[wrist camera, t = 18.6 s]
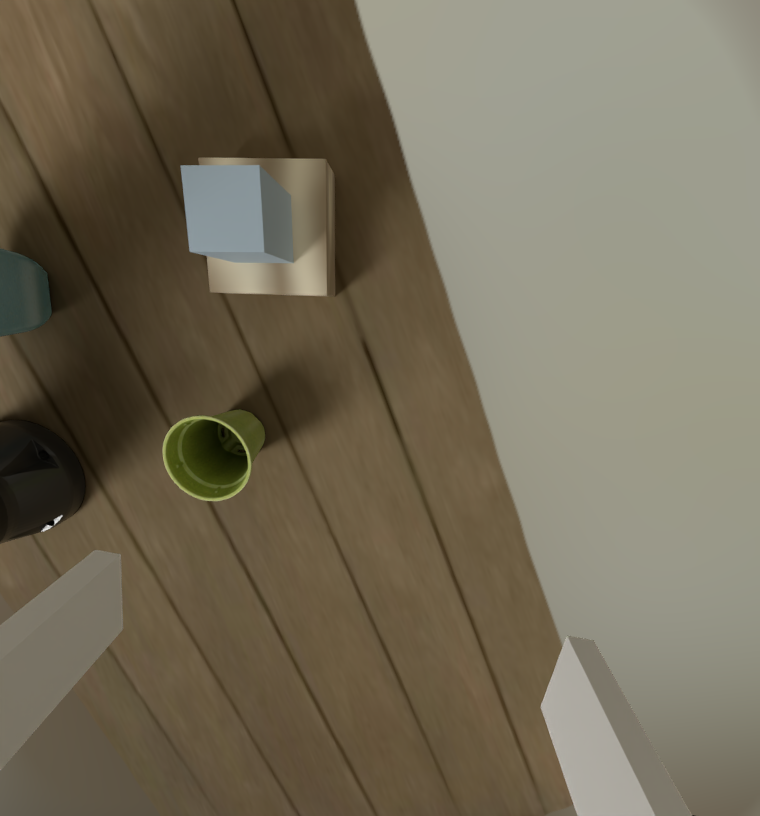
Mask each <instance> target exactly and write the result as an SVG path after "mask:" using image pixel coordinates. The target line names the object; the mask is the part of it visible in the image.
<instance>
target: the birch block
mask: <svg viewBox="0 0 760 816" xmlns="http://www.w3.org/2000/svg"><path fill="white" fill-rule="evenodd" d="M198 160H199V165H260V166H261V167H262V168H263V169H264V170H265V171H266V172H267V173H268V174H269V175H270V176H271V177H272V178H273V179H274V180H275V181H276V182H277V183H278V184H280V185H281V186H282V187H283V188H284V189H285V190H286V191H287V192H288V193H289V194H290V195H291V210H292V235H293V261H294V263H234V262H230V261H226V260H221V259H217V258H213V257H209V256H207V264H208V276H209V288H210V292H216V293H235V294H268V295H301V296H334V297H335V175H334V173H333V171H332V169H331V167H330V166H329V164H328V162H327V160H326V159H291V158H198Z"/></svg>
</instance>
